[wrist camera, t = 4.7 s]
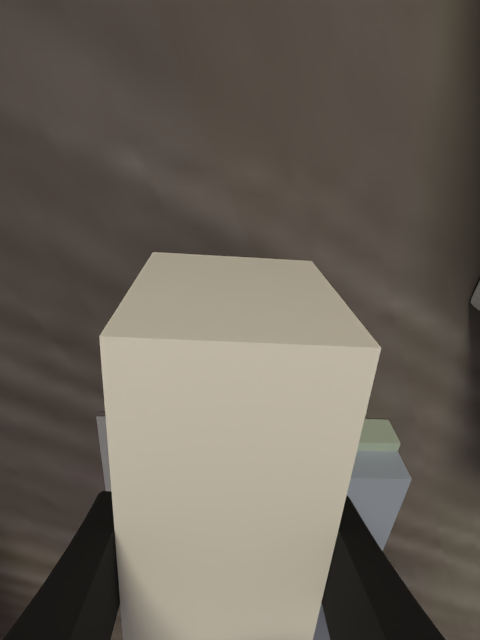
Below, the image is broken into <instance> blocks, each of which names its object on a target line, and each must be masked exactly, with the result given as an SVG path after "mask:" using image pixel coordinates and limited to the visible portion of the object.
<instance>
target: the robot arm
mask: <svg viewBox="0 0 480 640" xmlns="http://www.w3.org/2000/svg"><path fill="white" fill-rule="evenodd" d="M321 603H322V607H323V611H324V615H325V620H326V624H327V628H328V632H329V636H330V640H445V638H444V637H443V636H442V634H441V633H440V632H439V631H438V629H437V628H436V627H435V625H434V624H433V623H432V621H431V620H430V619H429V617H428V616H427V614H426V613H425V612H424V610H423V609H422V608H421V606H420V605H419V604H418V602H417V601H416V600H415V598H414V597H413V595H412V594H411V593H410V591H409V590H408V588H407V587H406V585H405V584H404V582H403V581H402V580H401V578H400V577H399V575H398V574H397V572H396V571H395V569H394V568H393V566H392V565H391V563H390V562H389V561H388V559H387V557H386V556H385V554H384V553H383V551H382V550H381V548H380V547H379V545H378V544H377V542H376V540H375V539H374V537H373V536H372V534H371V533H370V531H369V529H368V528H367V526H366V525H365V523H364V521H363V520H362V518H361V516H360V515H359V513H358V511H357V510H356V508H355V506H354V505H353V503H352V501H351V499H350V498H349V497H348V496H346V500H345V504H344V509H343V513H342V517H341V521H340V526H339V530H338V534H337V538H336V543H335V547H334V551H333V555H332V560H331V564H330V568H329V573H328V577H327V581H326V585H325V590H324V594H323V598H322V602H321ZM119 604H120V595H119V582H118V569H117V556H116V544H115V531H114V518H113V505H112V492H111V491H102V492H101V493H99V494H98V496H97V498H96V500H95V502H94V504H93V505H92V507H91V509H90V511H89V513H88V514H87V516H86V518H85V520H84V521H83V523H82V525H81V526H80V528H79V530H78V531H77V533H76V535H75V536H74V538H73V539H72V541H71V543H70V544H69V546H68V548H67V549H66V551H65V552H64V554H63V555H62V557H61V558H60V560H59V561H58V563H57V564H56V566H55V567H54V569H53V570H52V572H51V573H50V575H49V576H48V578H47V579H46V581H45V582H44V584H43V585H42V587H41V588H40V590H39V591H38V592H37V594H36V595H35V597H34V598H33V599H32V601H31V602H30V604H29V605H28V606H27V608H26V609H25V610H24V612H23V613H22V615H21V616H20V617H19V619H18V620H17V622H16V623H15V624H14V626H13V627H12V628H11V630H10V631H9V632H8V634H7V635H6V636H5V638H4V639H3V640H110V639H111V635H112V631H113V627H114V624H115V620H116V616H117V612H118V608H119Z"/></svg>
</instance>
